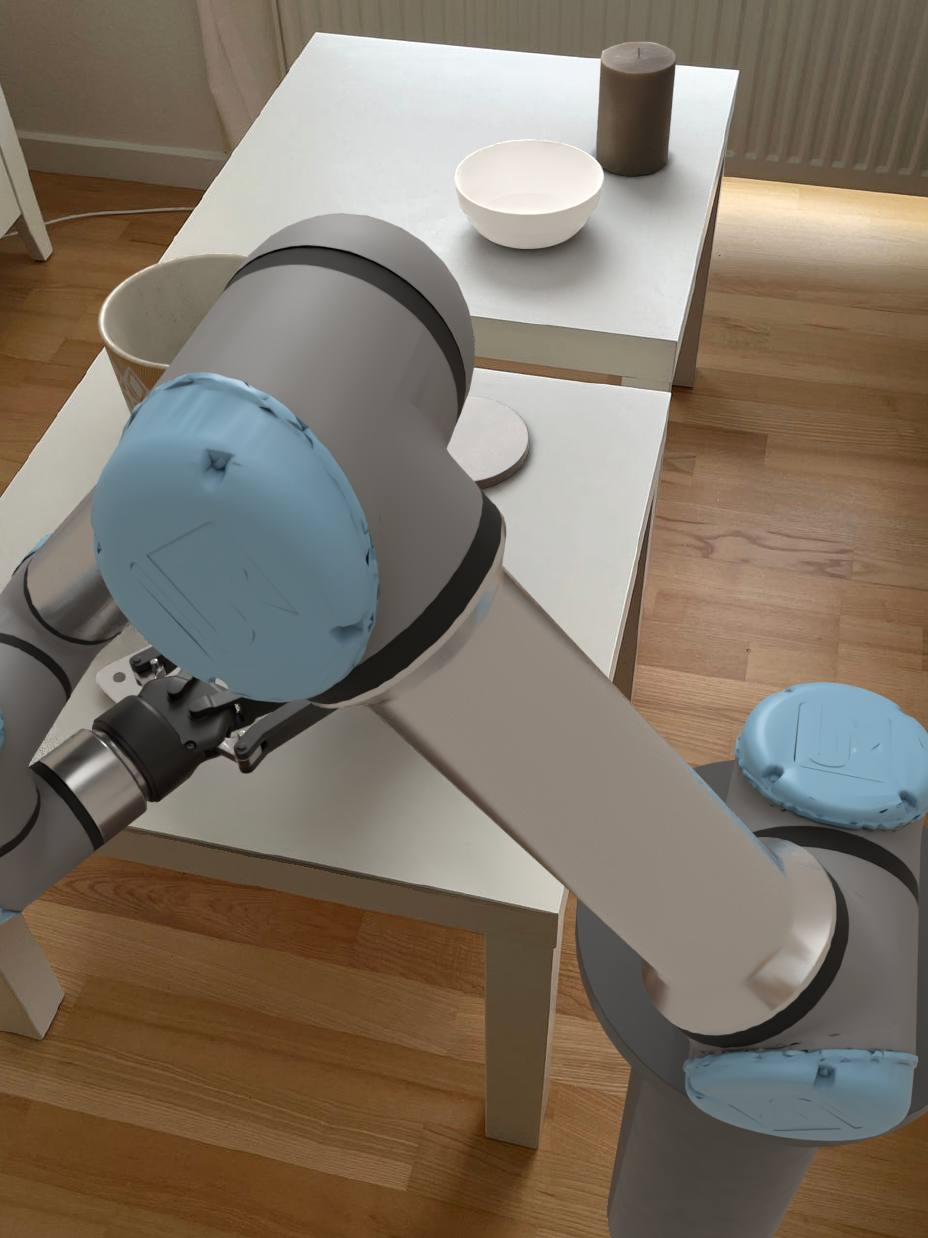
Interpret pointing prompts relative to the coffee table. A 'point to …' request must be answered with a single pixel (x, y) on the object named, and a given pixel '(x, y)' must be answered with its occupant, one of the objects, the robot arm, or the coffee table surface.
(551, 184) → the bowl
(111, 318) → the planter
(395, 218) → the coffee table surface
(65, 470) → the coffee table surface
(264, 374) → the robot arm
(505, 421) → the cake board
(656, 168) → the pillar candle
